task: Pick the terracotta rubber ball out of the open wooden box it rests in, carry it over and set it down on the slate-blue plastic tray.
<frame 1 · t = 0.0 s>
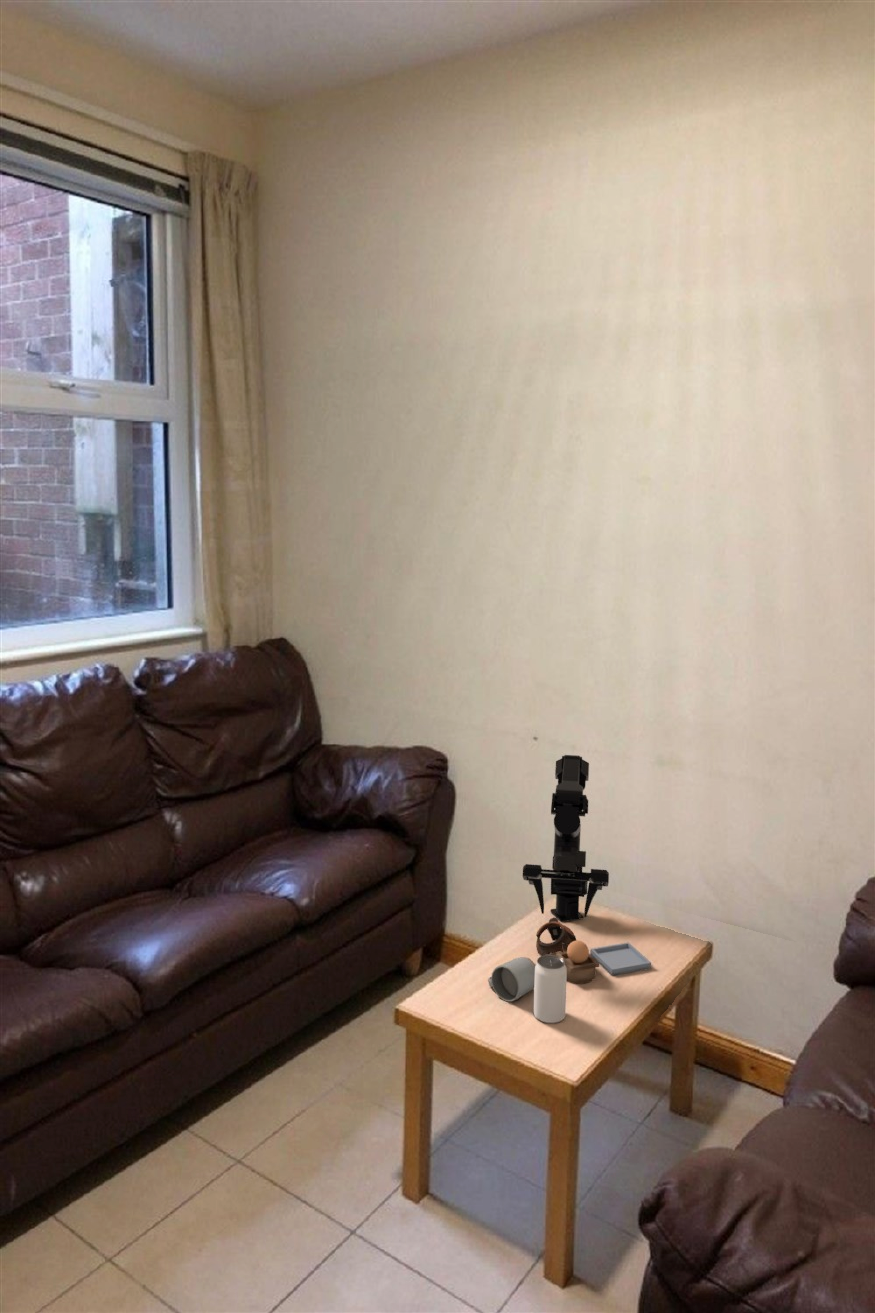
hand: (563, 915, 203), 15 cm above the table, tool tilted 35°, fingers open, 9 cm apart
pottery mug: (556, 951, 218), on the table
ceramic mug: (510, 993, 200), on the table
ball: (577, 952, 207), point 5 cm above the table, touching open wooden box
tray: (620, 961, 213), on the table
open wooden box: (577, 974, 208), on the table
can: (549, 1016, 191), on the table
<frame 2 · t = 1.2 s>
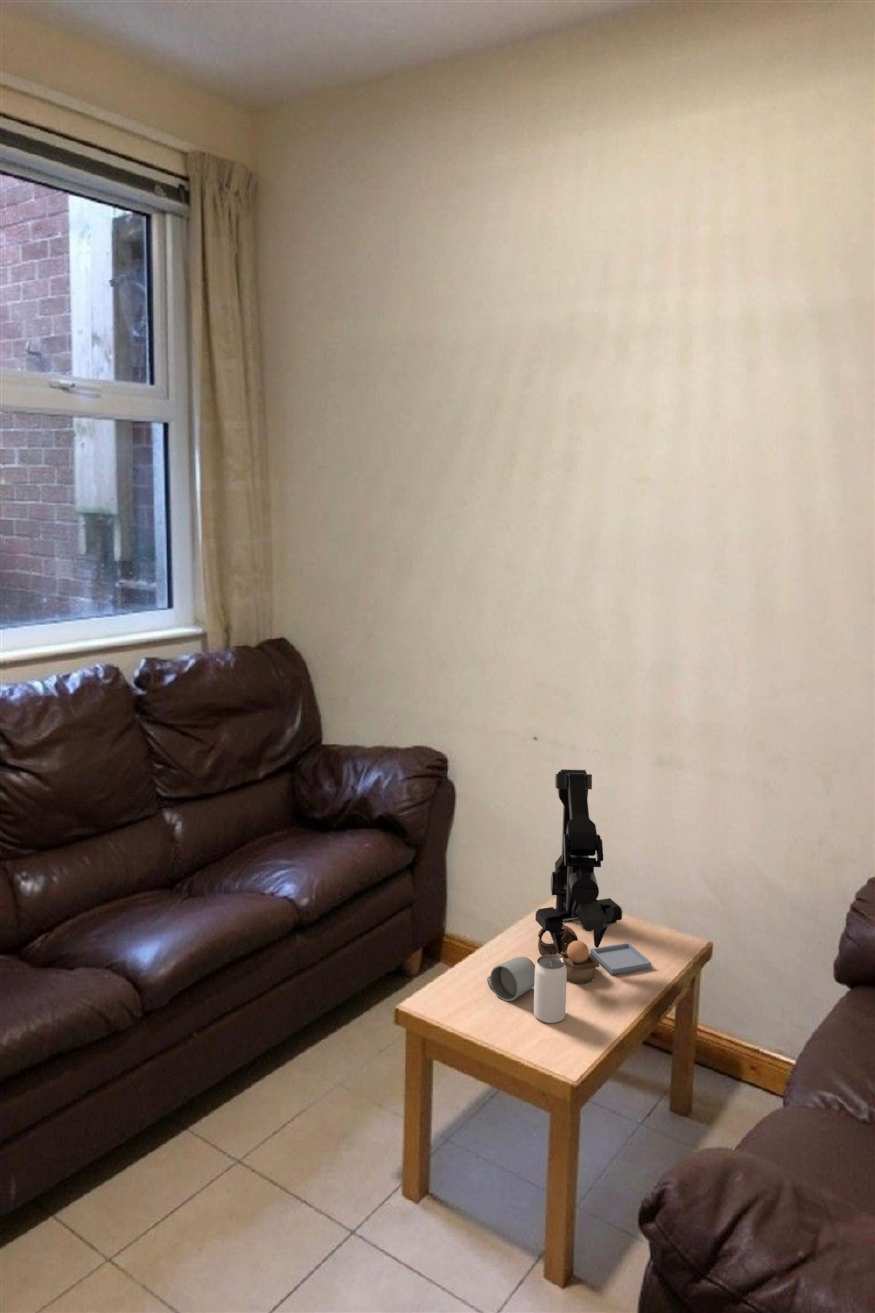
hand: (577, 950, 207), 6 cm above the table, tool pointing down, fingers open, 9 cm apart
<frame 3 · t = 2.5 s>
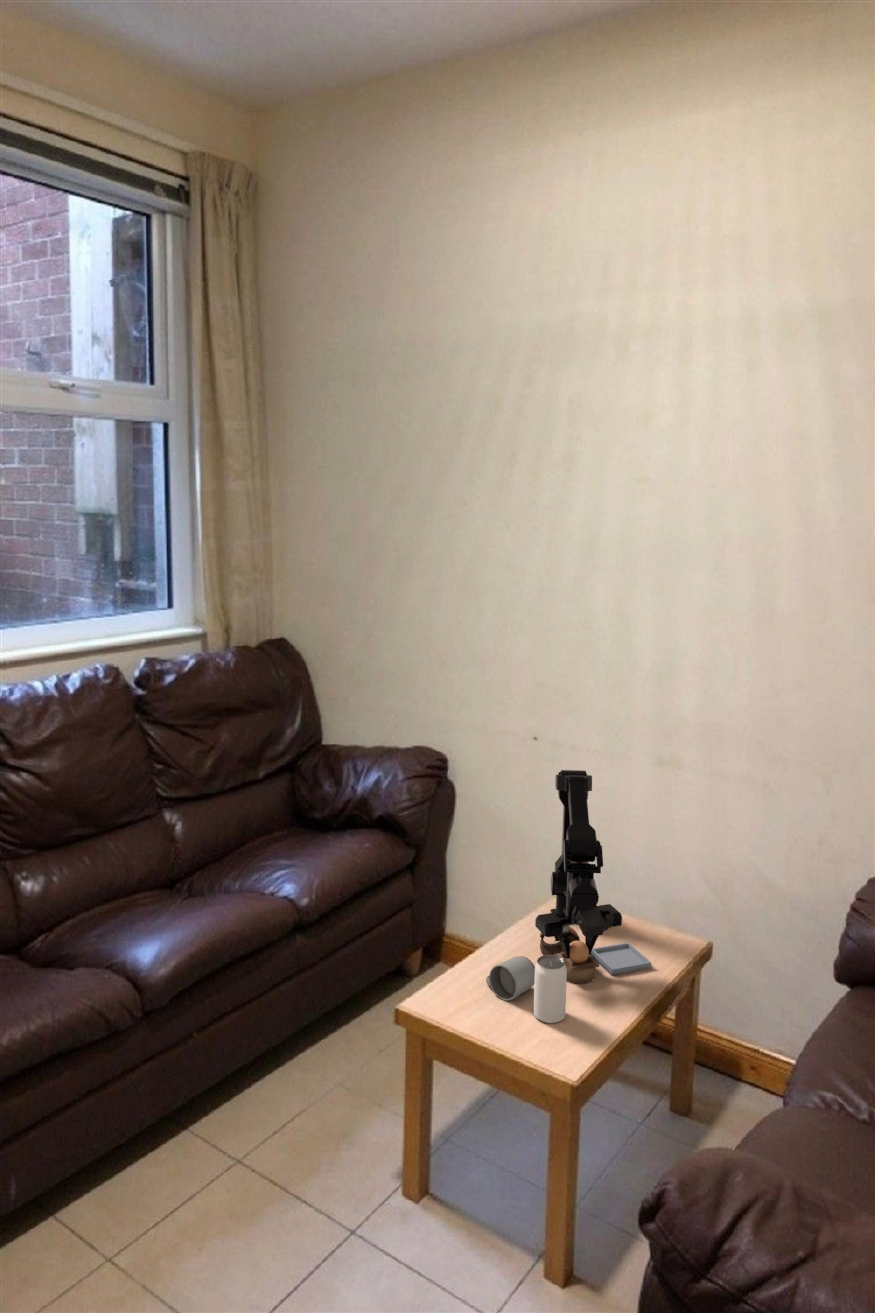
hand: (577, 956, 207), 4 cm above the table, tool pointing down, fingers closed on ball, 5 cm apart
ball: (577, 952, 207), point 5 cm above the table, touching open wooden box, gripper
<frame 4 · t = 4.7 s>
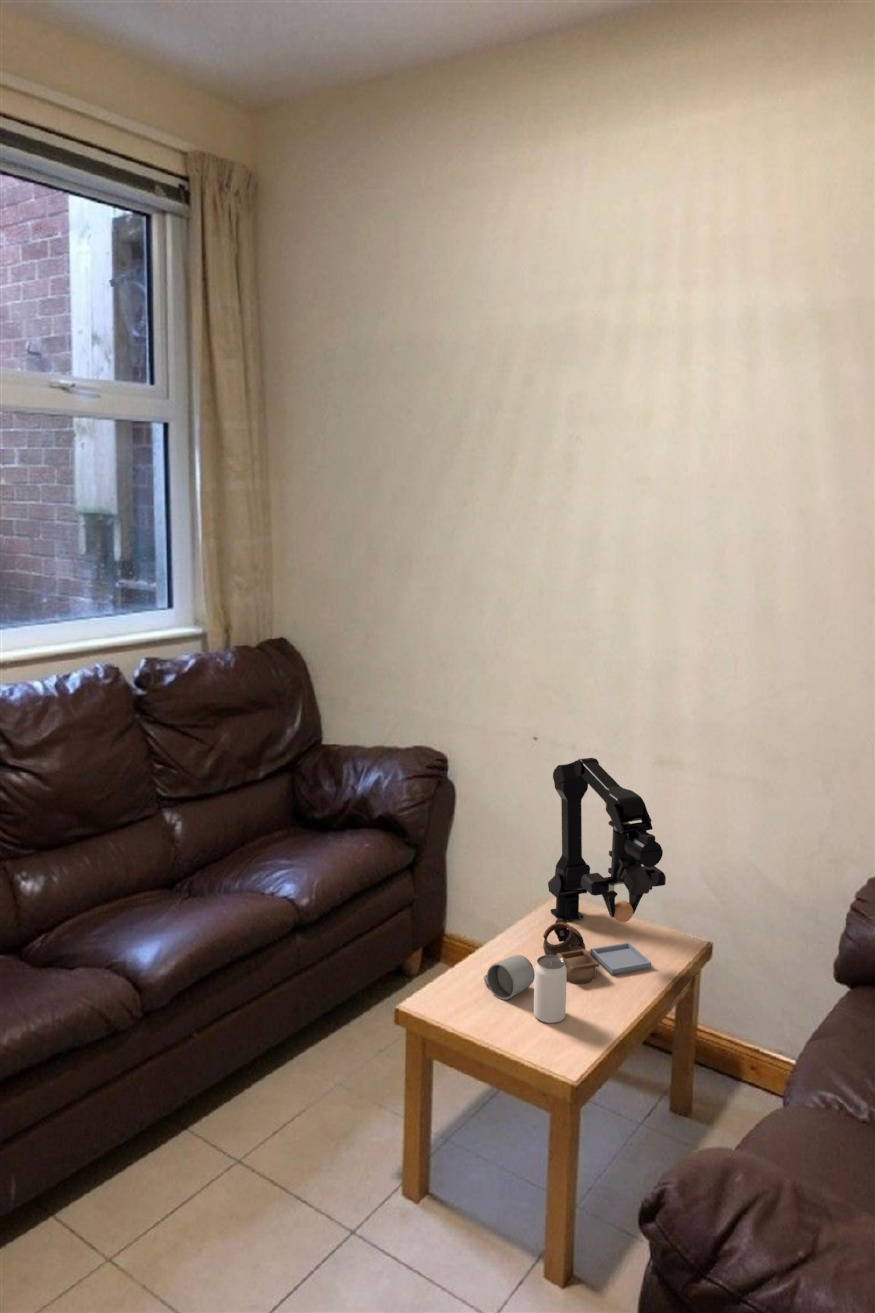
hand: (622, 915, 211), 11 cm above the table, tool pointing down, fingers closed on ball, 5 cm apart
ball: (622, 911, 211), point 12 cm above the table, touching gripper
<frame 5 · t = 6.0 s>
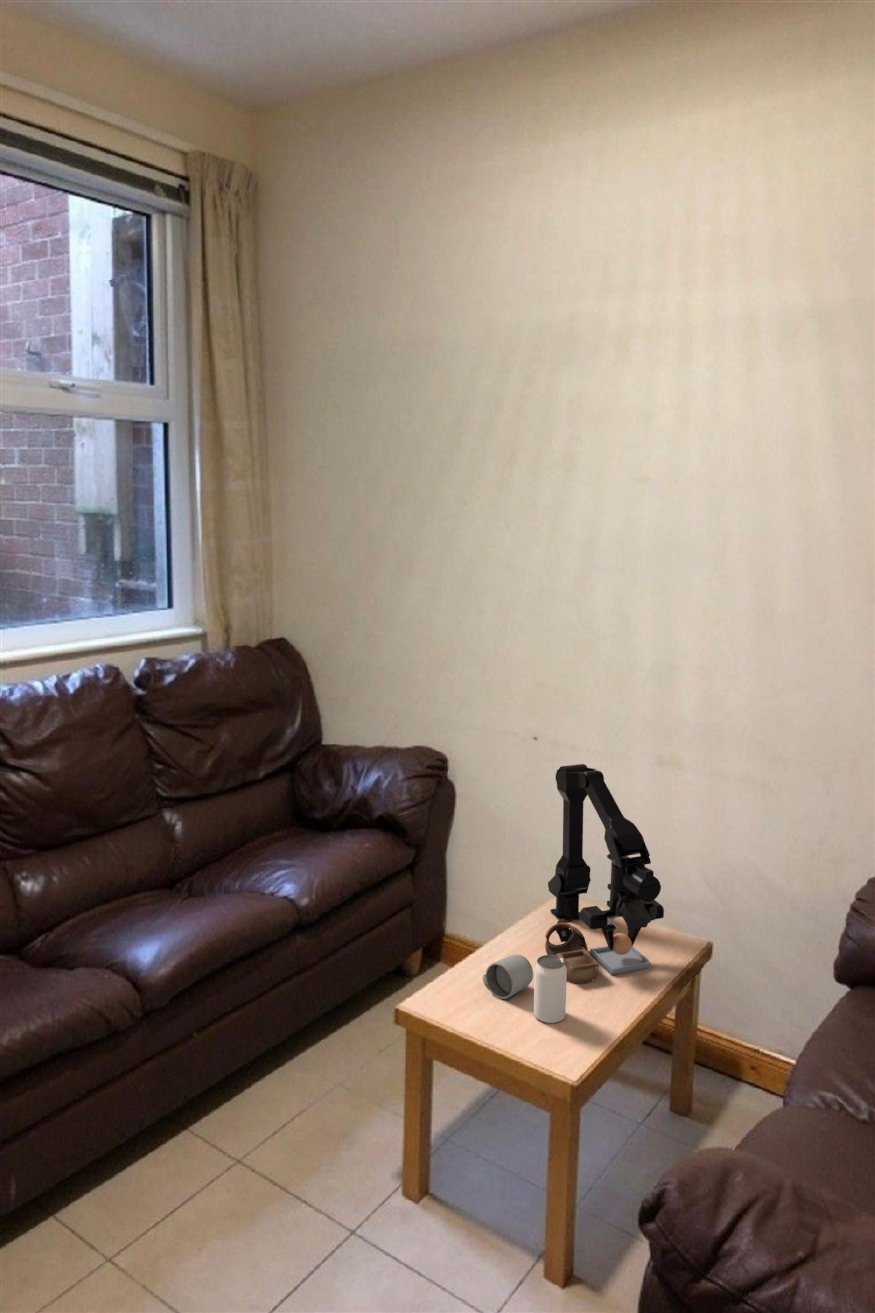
hand: (620, 947, 213), 3 cm above the table, tool pointing down, fingers closed on ball, 5 cm apart
ball: (621, 943, 212), point 4 cm above the table, touching gripper
when the fingers open (3 cm above the table, at t = 6.9 s): ball stays where it is, resting on tray.
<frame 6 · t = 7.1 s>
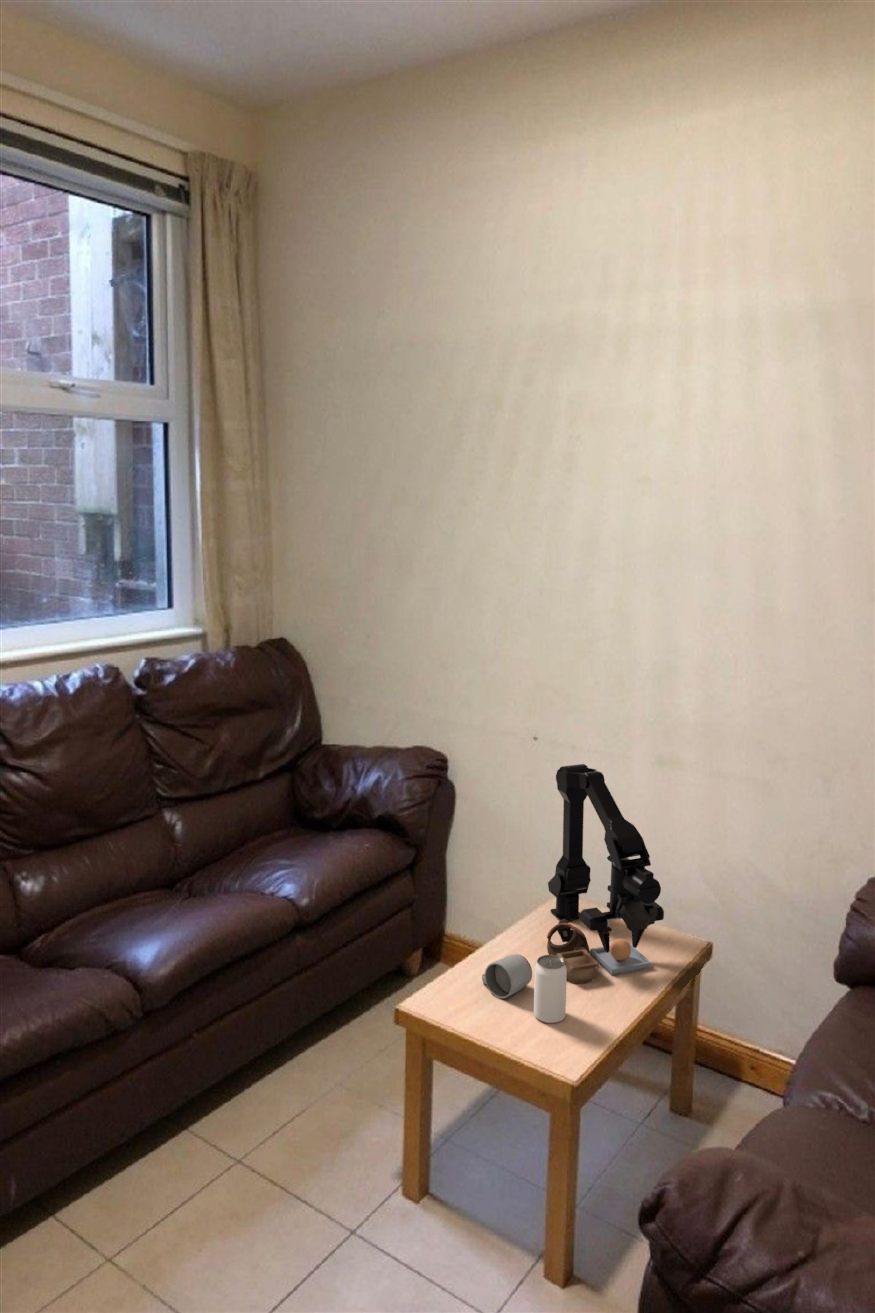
hand: (620, 949, 213), 3 cm above the table, tool pointing down, fingers open, 7 cm apart
ball: (620, 949, 213), point 3 cm above the table, touching tray
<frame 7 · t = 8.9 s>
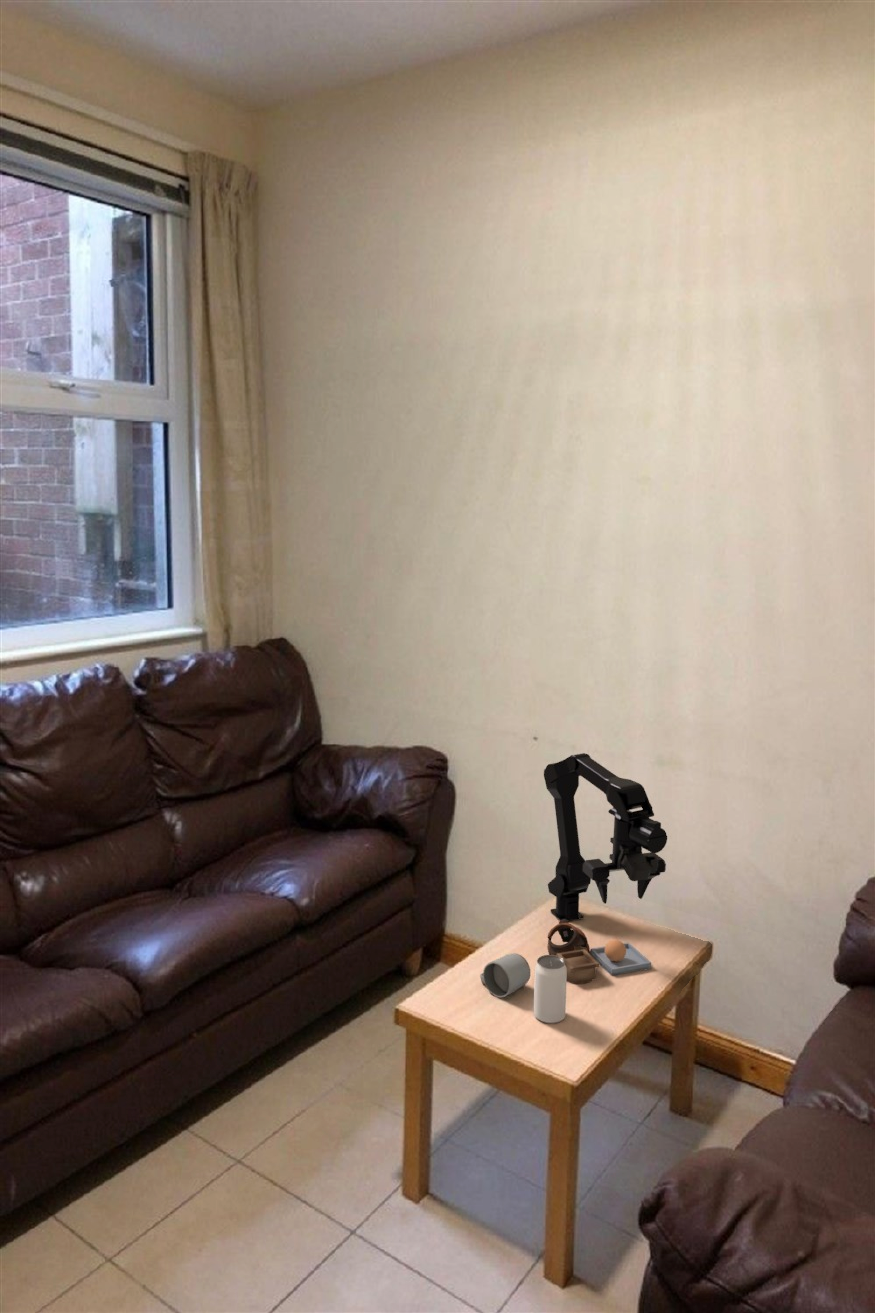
hand: (622, 900, 216), 12 cm above the table, tool pointing down, fingers open, 9 cm apart
ball: (615, 950, 212), point 3 cm above the table, tilted 35°, touching tray
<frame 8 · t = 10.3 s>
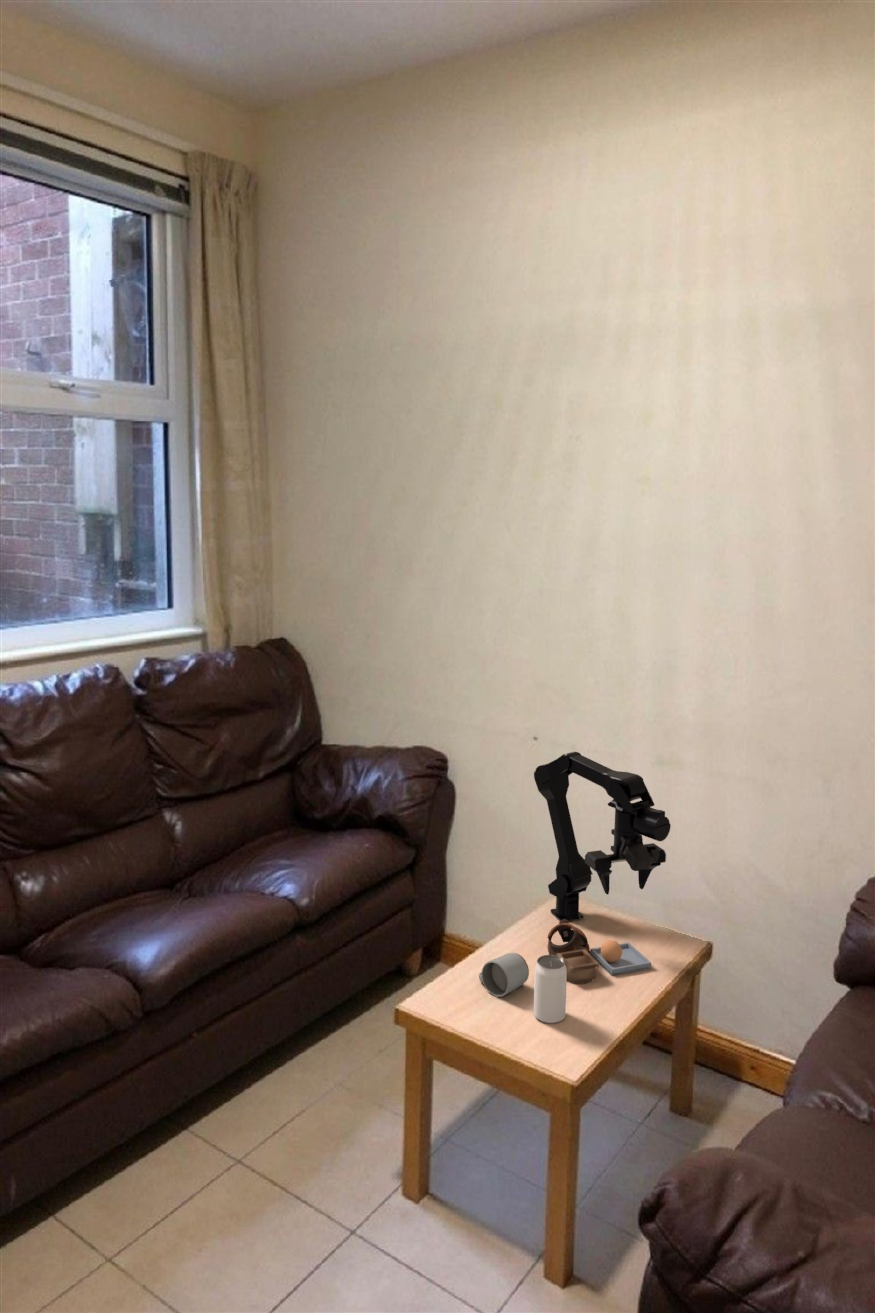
hand: (624, 891, 220), 13 cm above the table, tool pointing down, fingers open, 9 cm apart
ball: (611, 951, 212), point 3 cm above the table, tilted 59°, touching tray
at the end: ball inside the target area on the tray (2.6 cm from its centre), point 3.0 cm above the tray's base; the gripper is holding nothing; ball touching tray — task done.
